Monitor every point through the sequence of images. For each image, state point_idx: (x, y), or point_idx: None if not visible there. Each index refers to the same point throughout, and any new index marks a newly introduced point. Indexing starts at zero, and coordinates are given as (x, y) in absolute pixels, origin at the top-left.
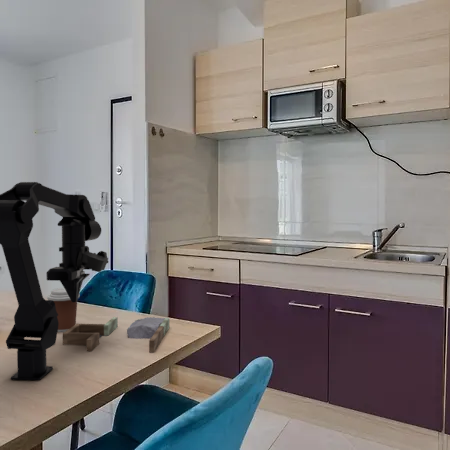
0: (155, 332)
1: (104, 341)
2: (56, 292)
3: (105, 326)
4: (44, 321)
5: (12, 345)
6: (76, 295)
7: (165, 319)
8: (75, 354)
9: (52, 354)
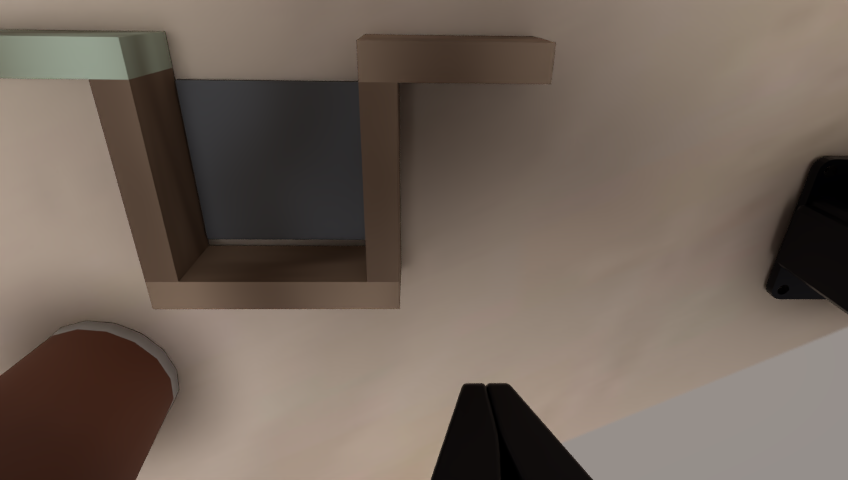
0: None
1: (306, 12)
2: None
3: (130, 61)
4: None
5: None
6: (561, 453)
7: None
8: (581, 125)
9: (567, 256)
